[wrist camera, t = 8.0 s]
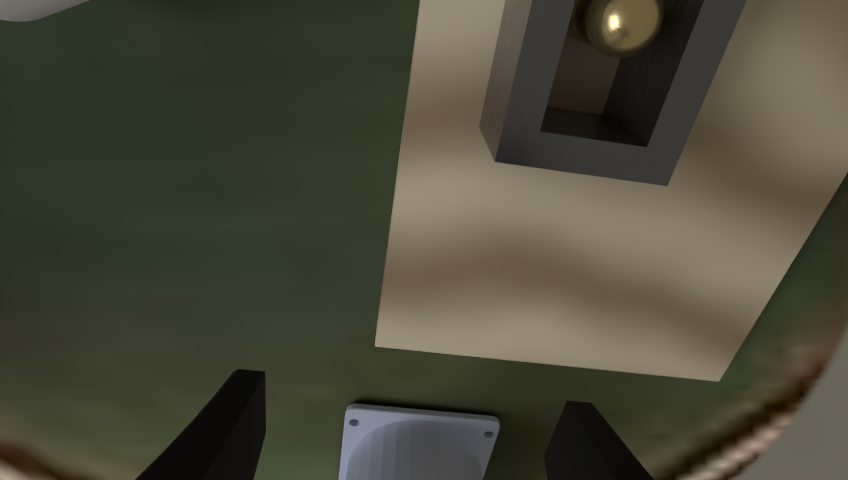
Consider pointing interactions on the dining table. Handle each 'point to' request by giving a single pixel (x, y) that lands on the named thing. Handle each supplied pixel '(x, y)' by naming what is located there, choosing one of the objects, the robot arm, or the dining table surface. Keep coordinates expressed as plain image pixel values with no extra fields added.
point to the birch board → (611, 203)
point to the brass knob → (616, 25)
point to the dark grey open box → (627, 101)
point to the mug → (33, 8)
